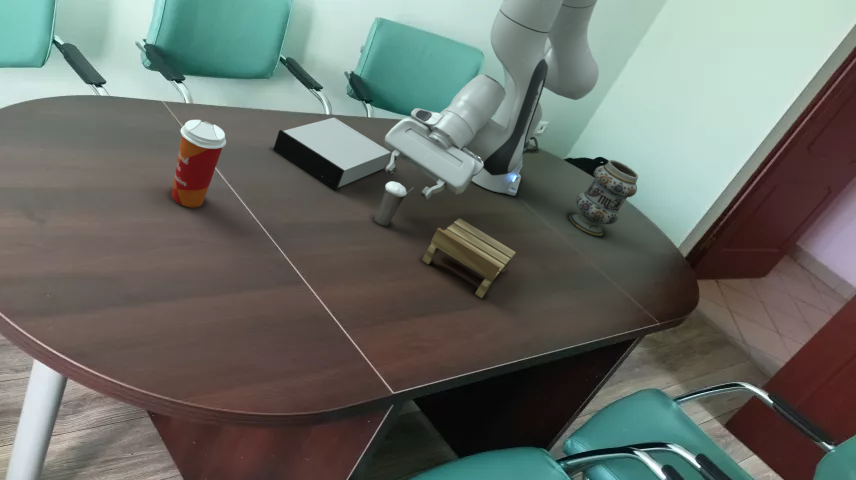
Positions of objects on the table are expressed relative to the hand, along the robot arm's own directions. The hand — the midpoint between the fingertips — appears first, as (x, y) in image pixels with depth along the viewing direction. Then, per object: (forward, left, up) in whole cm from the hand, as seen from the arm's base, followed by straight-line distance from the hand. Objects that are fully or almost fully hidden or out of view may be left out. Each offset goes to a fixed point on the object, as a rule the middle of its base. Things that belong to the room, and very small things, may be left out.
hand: (405, 184), depth 138 cm
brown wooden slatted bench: (0, +19, -9) cm, 21 cm away
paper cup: (+35, -26, -9) cm, 44 cm away
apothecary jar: (-57, +35, -9) cm, 68 cm away
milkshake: (+3, 0, -9) cm, 9 cm away
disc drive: (-9, -21, -9) cm, 25 cm away
